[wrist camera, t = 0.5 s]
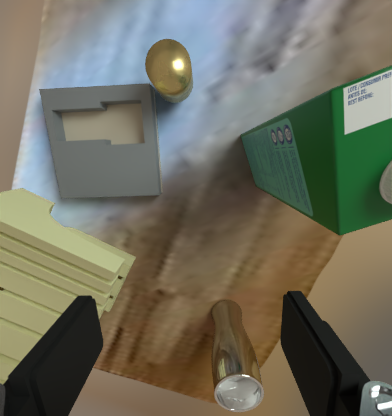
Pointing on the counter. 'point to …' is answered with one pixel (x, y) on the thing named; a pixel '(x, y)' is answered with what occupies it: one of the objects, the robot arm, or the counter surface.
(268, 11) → the counter surface
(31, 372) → the robot arm
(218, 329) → the beer glass
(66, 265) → the slatted curved stool
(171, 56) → the peg
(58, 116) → the board
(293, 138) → the milk carton
